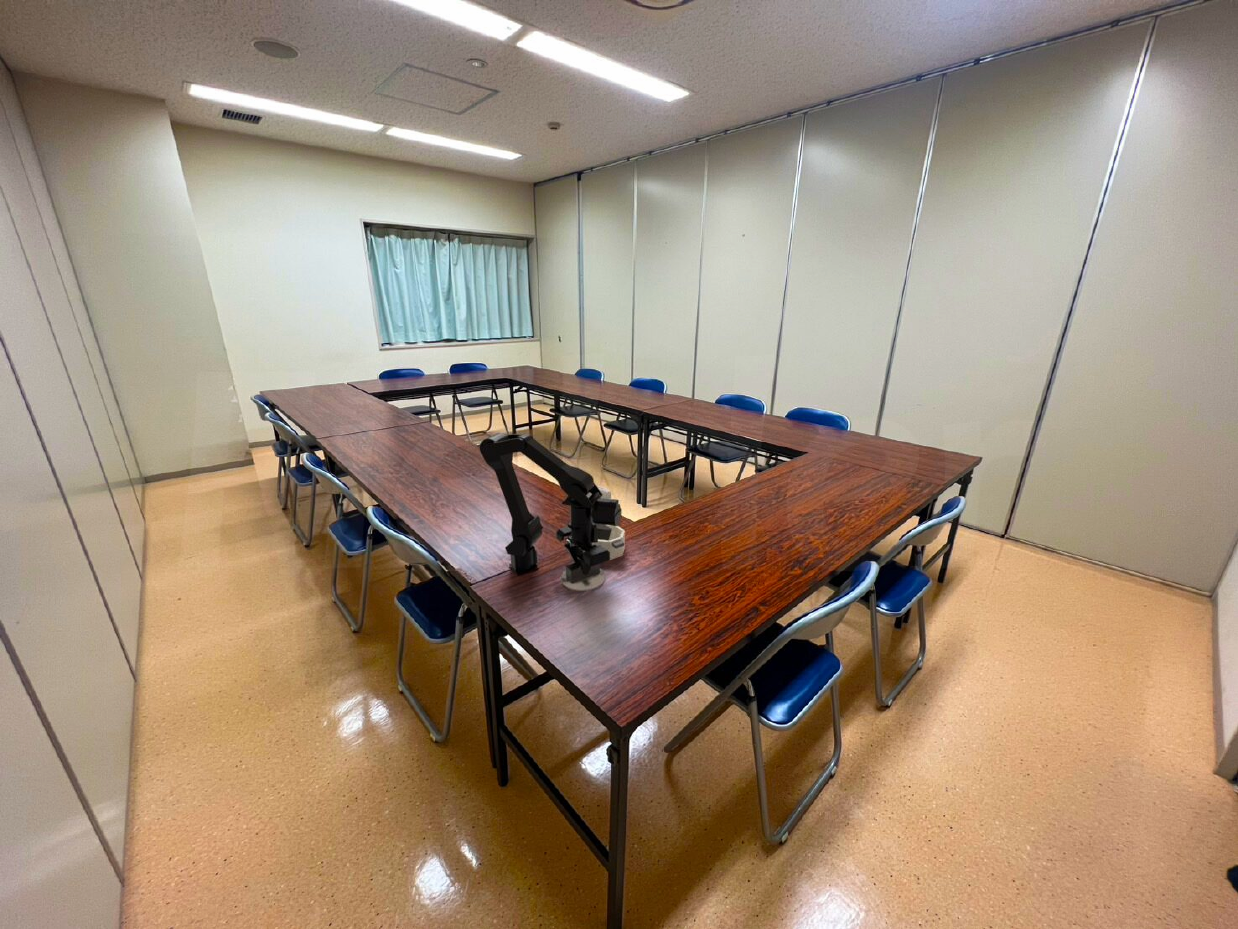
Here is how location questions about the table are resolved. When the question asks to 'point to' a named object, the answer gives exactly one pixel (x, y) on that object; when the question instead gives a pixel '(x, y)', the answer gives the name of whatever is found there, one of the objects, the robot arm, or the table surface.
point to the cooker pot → (614, 542)
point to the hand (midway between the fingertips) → (583, 571)
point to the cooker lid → (582, 577)
